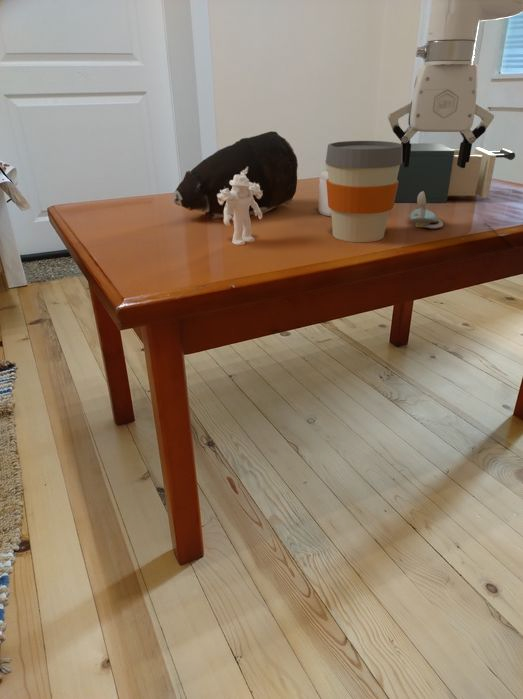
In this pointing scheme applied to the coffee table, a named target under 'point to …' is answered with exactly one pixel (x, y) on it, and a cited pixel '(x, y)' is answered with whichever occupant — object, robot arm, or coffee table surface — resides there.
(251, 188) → the flower shoulder figurine
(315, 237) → the coffee table surface
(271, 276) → the coffee table surface
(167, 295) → the coffee table surface
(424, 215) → the pacifier
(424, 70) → the robot arm
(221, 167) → the dark brown rounded shape
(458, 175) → the drawer
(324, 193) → the eye dropper bottle
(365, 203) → the reusable coffee cup
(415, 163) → the cabinet
